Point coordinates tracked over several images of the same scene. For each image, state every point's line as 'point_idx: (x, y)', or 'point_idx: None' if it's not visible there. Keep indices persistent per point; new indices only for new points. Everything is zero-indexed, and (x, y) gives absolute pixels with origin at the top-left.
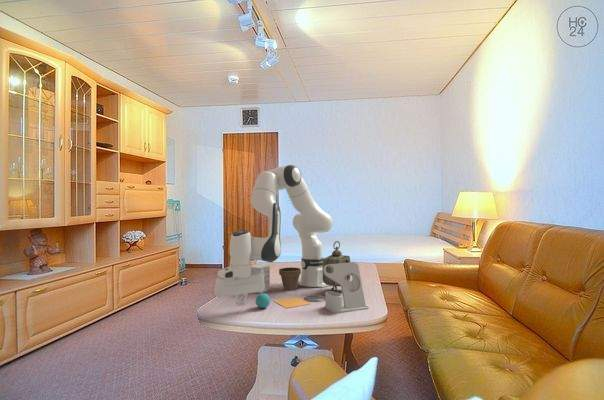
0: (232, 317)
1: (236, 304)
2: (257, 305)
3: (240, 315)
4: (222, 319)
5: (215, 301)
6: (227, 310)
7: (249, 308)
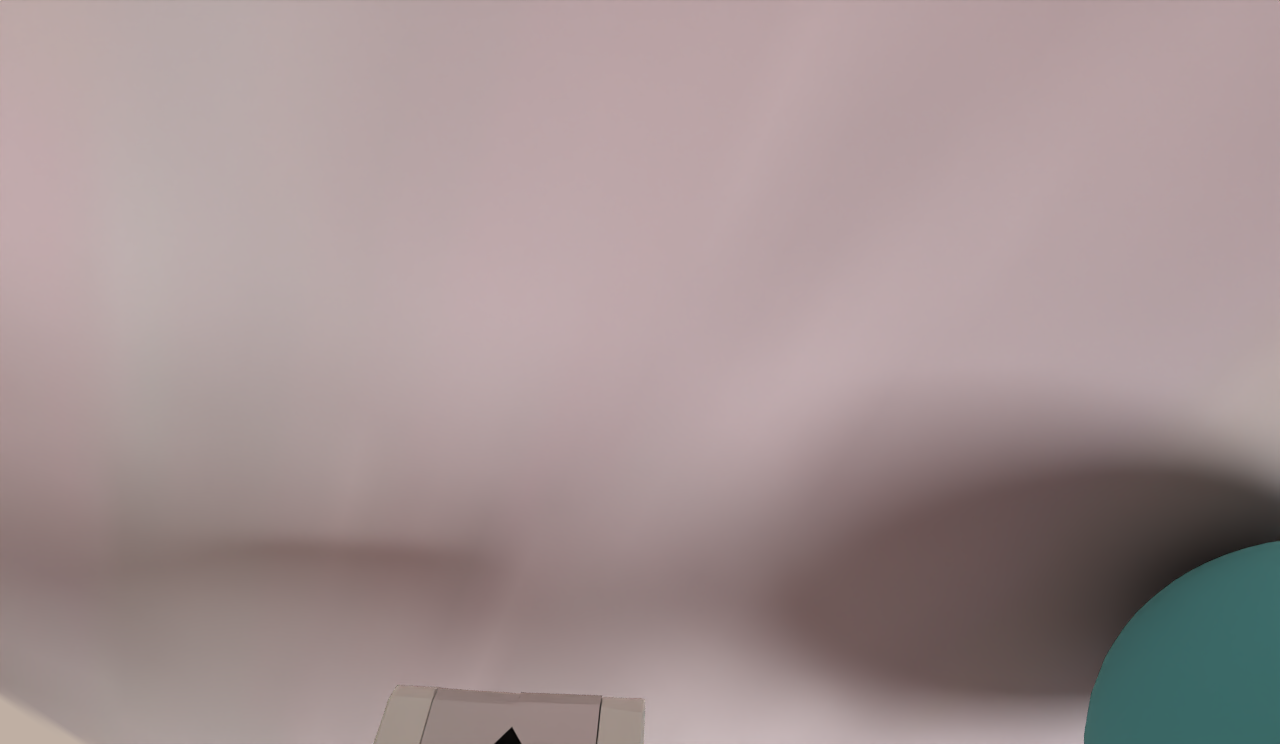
0: (293, 726)
1: (394, 700)
2: (1095, 685)
3: None
4: (82, 718)
5: None
6: (217, 270)
7: (914, 455)
